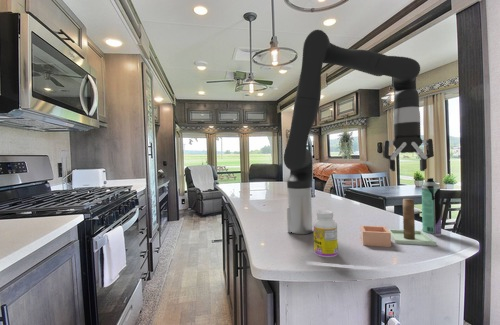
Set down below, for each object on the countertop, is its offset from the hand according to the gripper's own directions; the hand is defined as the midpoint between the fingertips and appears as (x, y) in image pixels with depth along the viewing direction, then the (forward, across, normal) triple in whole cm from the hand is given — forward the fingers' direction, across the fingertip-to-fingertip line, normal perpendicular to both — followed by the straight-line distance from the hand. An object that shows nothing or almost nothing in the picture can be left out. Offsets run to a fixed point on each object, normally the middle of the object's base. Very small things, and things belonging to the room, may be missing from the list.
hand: (407, 171), depth 85 cm
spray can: (+23, +10, +9) cm, 27 cm away
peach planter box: (+23, -11, -7) cm, 27 cm away
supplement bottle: (+24, -26, -20) cm, 40 cm away
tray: (+23, 0, 0) cm, 23 cm away
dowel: (+22, 0, 0) cm, 22 cm away
